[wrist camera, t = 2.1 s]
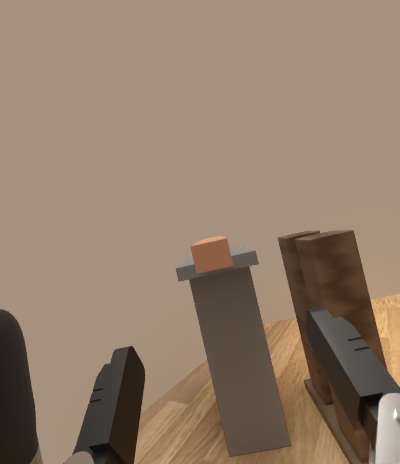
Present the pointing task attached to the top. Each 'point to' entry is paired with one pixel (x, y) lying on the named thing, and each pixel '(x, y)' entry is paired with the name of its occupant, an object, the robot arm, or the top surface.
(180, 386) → the top surface
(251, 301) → the pedestal
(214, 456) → the top surface
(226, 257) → the beam
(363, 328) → the gate
